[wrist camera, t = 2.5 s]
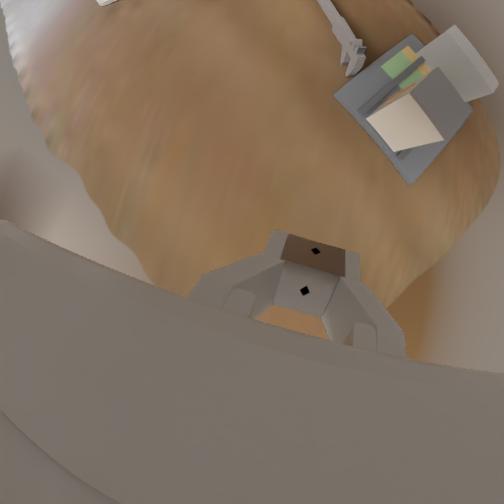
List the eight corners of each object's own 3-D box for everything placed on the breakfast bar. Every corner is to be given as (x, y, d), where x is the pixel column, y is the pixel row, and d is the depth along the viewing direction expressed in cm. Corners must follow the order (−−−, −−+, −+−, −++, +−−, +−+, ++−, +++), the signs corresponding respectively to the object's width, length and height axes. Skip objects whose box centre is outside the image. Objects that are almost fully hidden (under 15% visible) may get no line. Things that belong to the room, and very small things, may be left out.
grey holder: (332, 95, 28) (358, 65, 19) (409, 36, 26) (440, 9, 17) (408, 184, 30) (452, 184, 21) (469, 111, 28) (509, 100, 19)
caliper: (352, 78, 28) (372, 58, 22) (345, 78, 28) (363, 58, 22) (304, -29, 24) (310, -55, 18) (297, -29, 24) (303, -55, 18)
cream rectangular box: (365, 117, 27) (411, 90, 17) (389, 95, 27) (437, 65, 16) (393, 152, 28) (448, 139, 18) (416, 128, 27) (470, 111, 17)
